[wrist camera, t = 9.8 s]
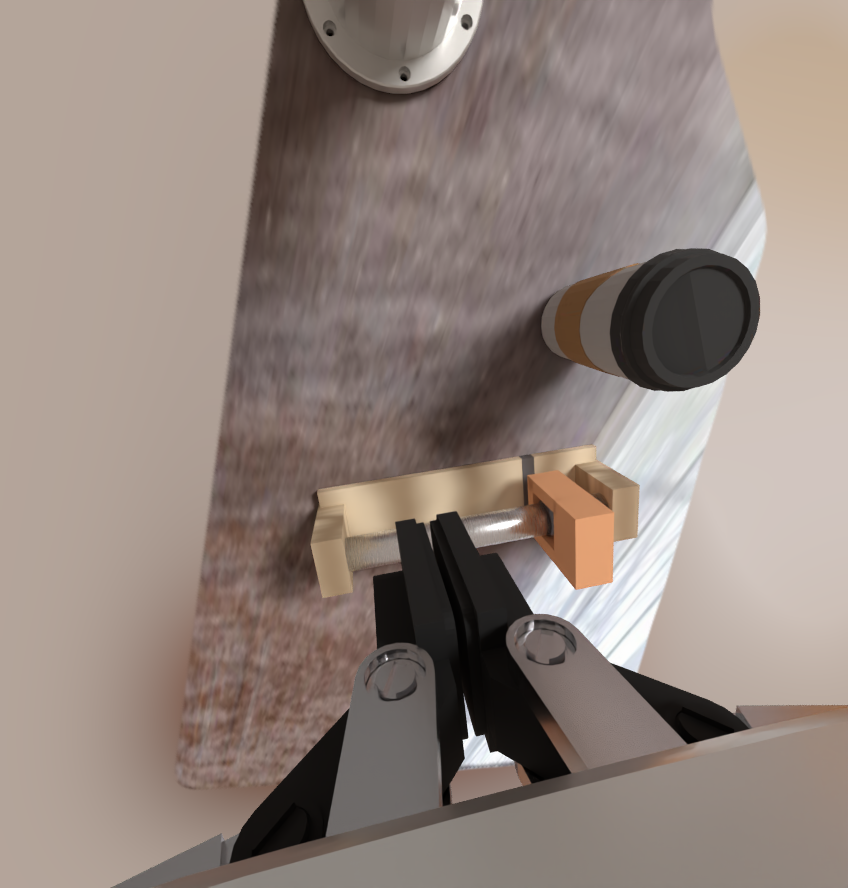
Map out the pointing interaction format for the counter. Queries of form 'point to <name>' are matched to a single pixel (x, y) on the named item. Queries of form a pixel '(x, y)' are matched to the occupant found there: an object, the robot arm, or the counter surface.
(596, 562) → the collar
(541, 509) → the pipe
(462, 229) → the counter surface
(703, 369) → the coffee cup
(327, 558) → the beige long frame
